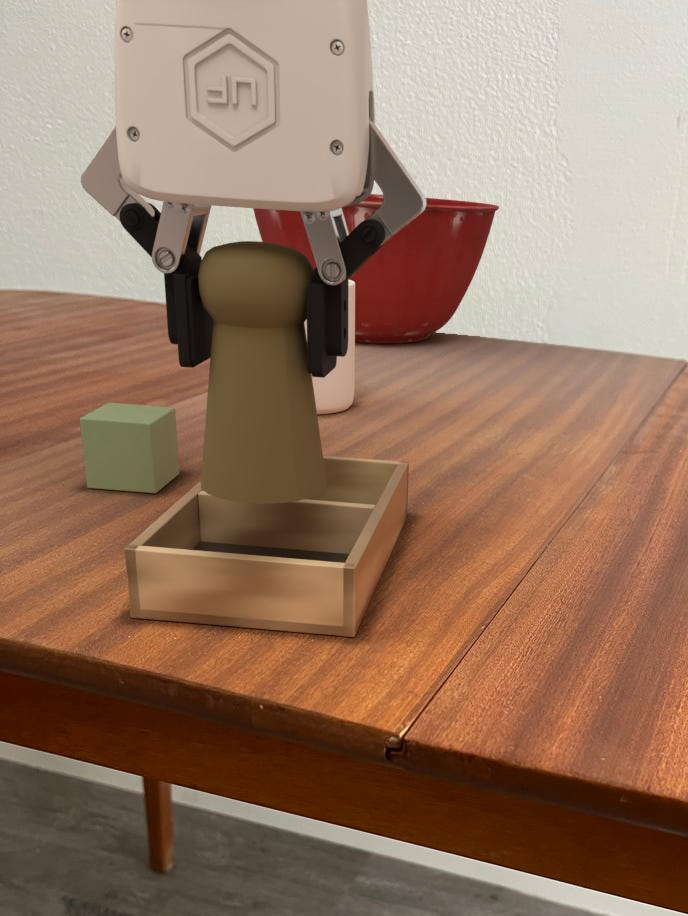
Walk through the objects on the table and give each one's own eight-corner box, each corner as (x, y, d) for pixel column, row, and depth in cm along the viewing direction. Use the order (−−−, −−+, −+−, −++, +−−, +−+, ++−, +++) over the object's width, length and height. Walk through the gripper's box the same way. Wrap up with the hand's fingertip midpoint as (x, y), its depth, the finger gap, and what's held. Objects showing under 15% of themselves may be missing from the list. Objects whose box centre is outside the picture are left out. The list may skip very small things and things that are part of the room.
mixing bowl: (261, 311, 134) (257, 183, 128) (477, 321, 138) (484, 196, 131) (240, 351, 109) (234, 193, 102) (504, 361, 113) (515, 209, 106)
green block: (86, 488, 65) (78, 418, 63) (114, 468, 69) (108, 402, 67) (156, 494, 65) (150, 423, 63) (180, 474, 69) (175, 407, 67)
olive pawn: (190, 470, 51) (175, 234, 46) (309, 463, 53) (306, 238, 49) (212, 508, 46) (198, 248, 41) (342, 498, 49) (342, 252, 44)
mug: (218, 417, 83) (212, 284, 79) (209, 395, 90) (202, 271, 86) (363, 415, 87) (365, 287, 82) (343, 393, 94) (343, 274, 89)
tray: (130, 618, 48) (123, 548, 47) (238, 502, 64) (236, 448, 63) (354, 637, 48) (355, 568, 46) (407, 516, 64) (408, 461, 62)
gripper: (-21, -148, 37) (42, 368, 44) (455, -122, 36) (434, 398, 44) (70, -101, 43) (111, 340, 51) (472, -78, 43) (451, 366, 50)
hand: (260, 362), depth 47 cm, fingers closed on olive pawn, 5 cm apart
